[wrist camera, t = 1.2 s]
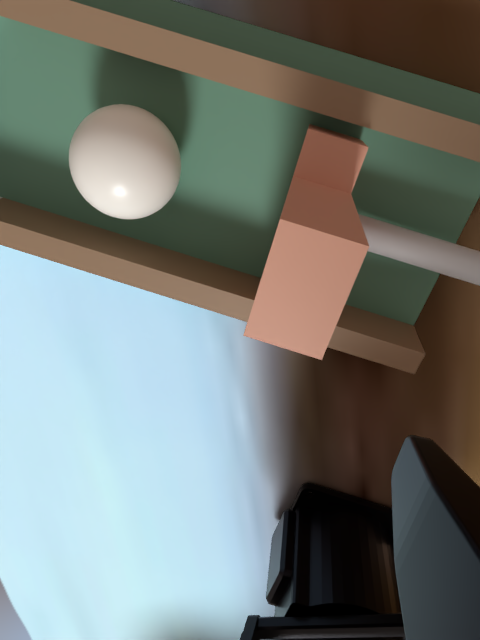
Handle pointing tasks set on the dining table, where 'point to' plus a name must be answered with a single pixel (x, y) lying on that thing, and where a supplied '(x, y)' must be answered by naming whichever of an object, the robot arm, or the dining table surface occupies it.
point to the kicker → (333, 248)
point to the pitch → (226, 154)
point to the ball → (124, 161)
